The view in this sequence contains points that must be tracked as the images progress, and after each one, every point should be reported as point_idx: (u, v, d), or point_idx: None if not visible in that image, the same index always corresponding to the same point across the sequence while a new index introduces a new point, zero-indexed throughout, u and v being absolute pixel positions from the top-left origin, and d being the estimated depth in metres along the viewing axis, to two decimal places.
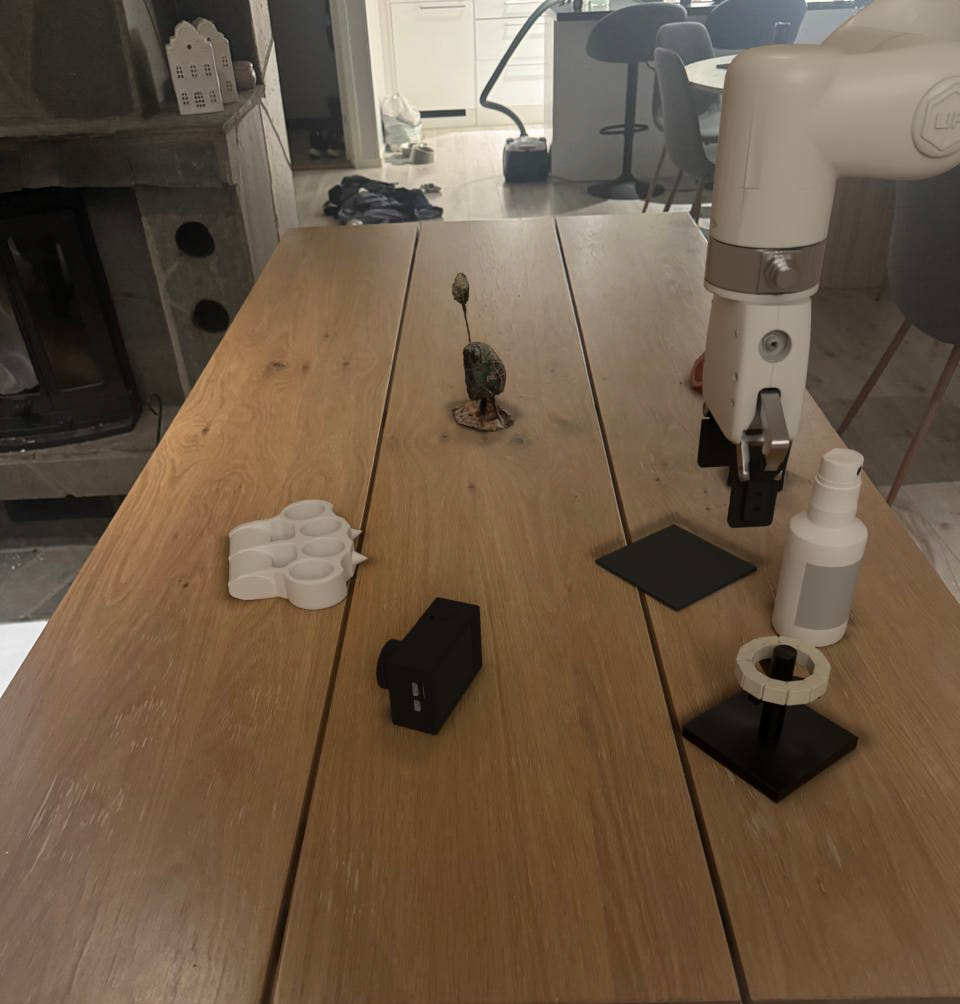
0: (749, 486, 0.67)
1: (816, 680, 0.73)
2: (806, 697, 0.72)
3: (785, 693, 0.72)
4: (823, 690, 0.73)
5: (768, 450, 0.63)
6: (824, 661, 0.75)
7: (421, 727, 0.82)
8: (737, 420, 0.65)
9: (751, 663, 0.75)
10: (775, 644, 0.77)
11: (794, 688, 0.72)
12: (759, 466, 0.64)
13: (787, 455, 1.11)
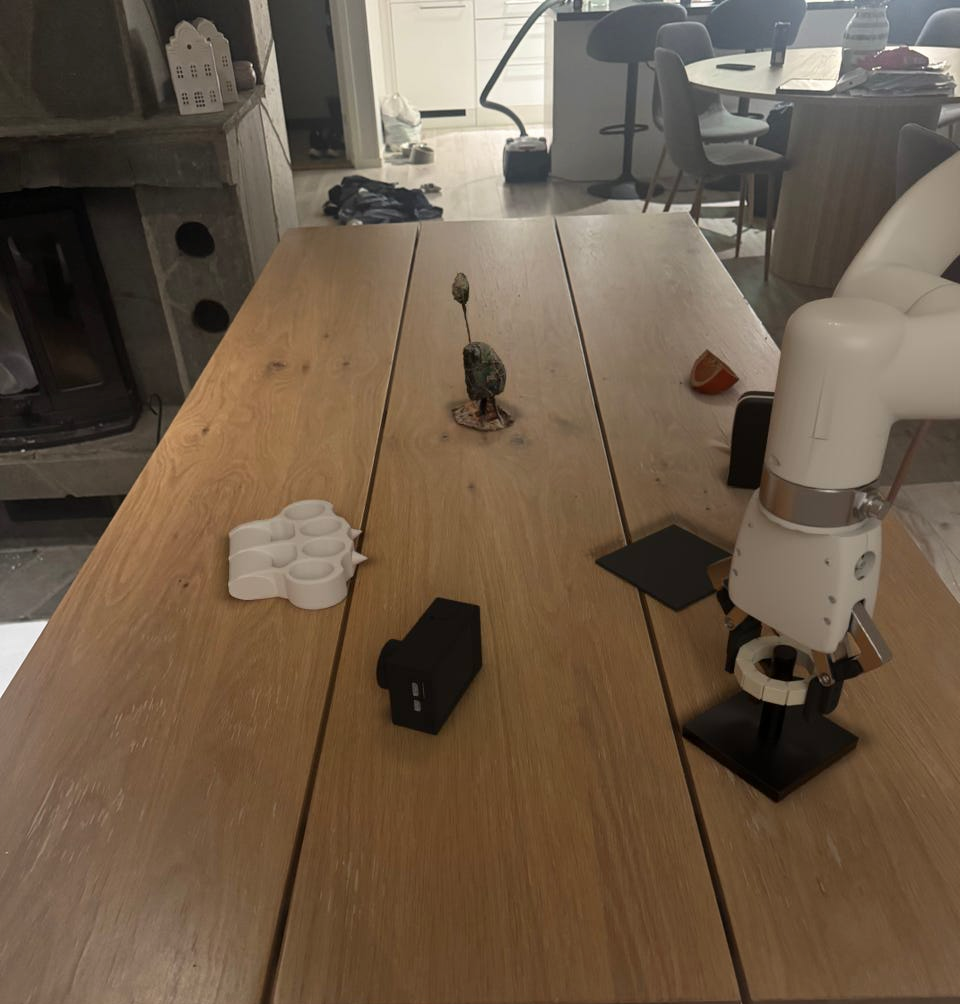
0: (831, 686, 0.71)
1: None
2: None
3: (785, 693, 0.72)
4: None
5: (872, 665, 0.67)
6: None
7: (421, 727, 0.82)
8: (835, 635, 0.67)
9: (751, 663, 0.75)
10: (775, 644, 0.77)
11: (794, 688, 0.72)
12: (855, 672, 0.68)
13: None
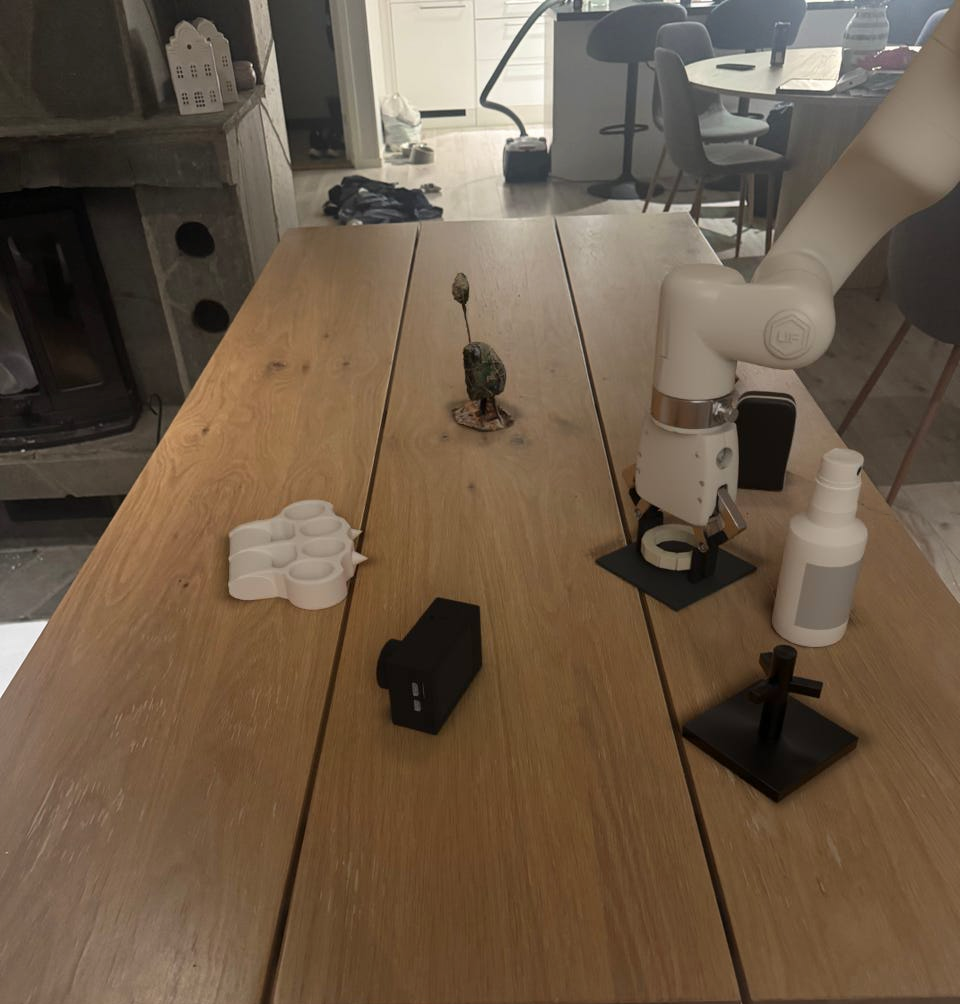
0: (708, 553, 0.96)
1: None
2: None
3: (675, 560, 0.97)
4: None
5: (732, 532, 0.92)
6: None
7: (421, 727, 0.82)
8: (706, 511, 0.92)
9: (652, 541, 1.00)
10: (672, 529, 1.02)
11: (681, 557, 0.97)
12: (722, 540, 0.94)
13: (787, 455, 1.11)
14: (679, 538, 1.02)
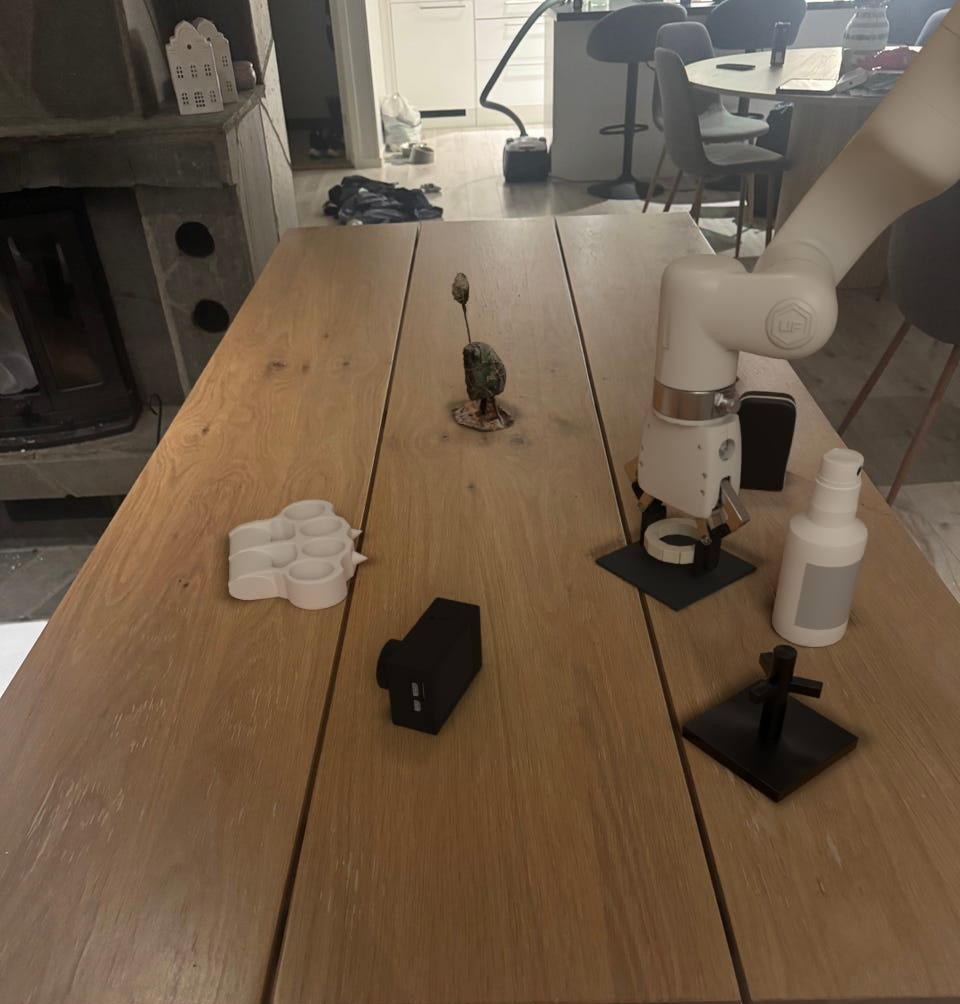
0: (711, 546, 0.95)
1: None
2: None
3: (678, 554, 0.97)
4: None
5: (735, 525, 0.92)
6: None
7: (421, 727, 0.82)
8: (709, 503, 0.92)
9: (655, 535, 1.00)
10: (675, 523, 1.01)
11: (684, 550, 0.97)
12: (725, 532, 0.93)
13: (787, 455, 1.11)
14: (682, 532, 1.02)
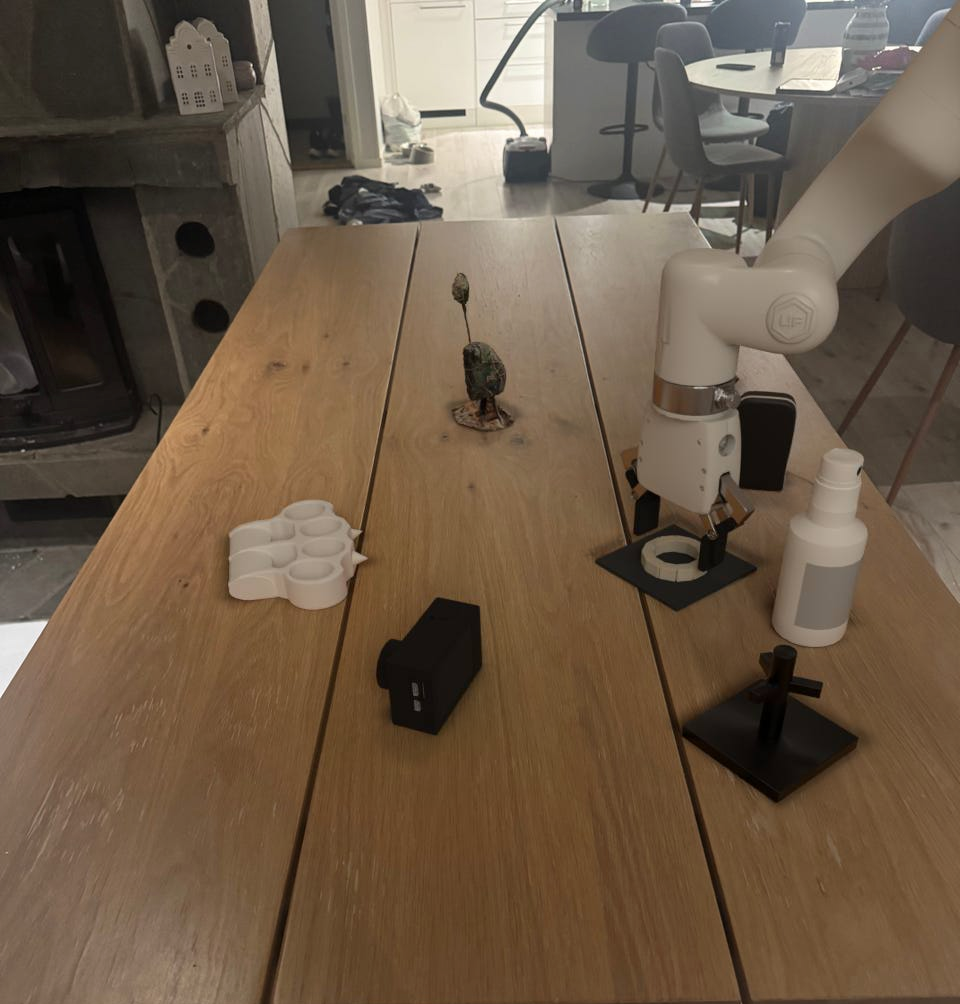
0: (717, 541, 0.94)
1: None
2: (690, 575, 0.98)
3: (675, 572, 0.98)
4: None
5: (741, 516, 0.91)
6: None
7: (421, 727, 0.82)
8: (708, 499, 0.92)
9: (652, 553, 1.01)
10: (672, 540, 1.03)
11: (681, 568, 0.98)
12: (732, 526, 0.92)
13: (787, 455, 1.11)
14: (679, 550, 1.03)
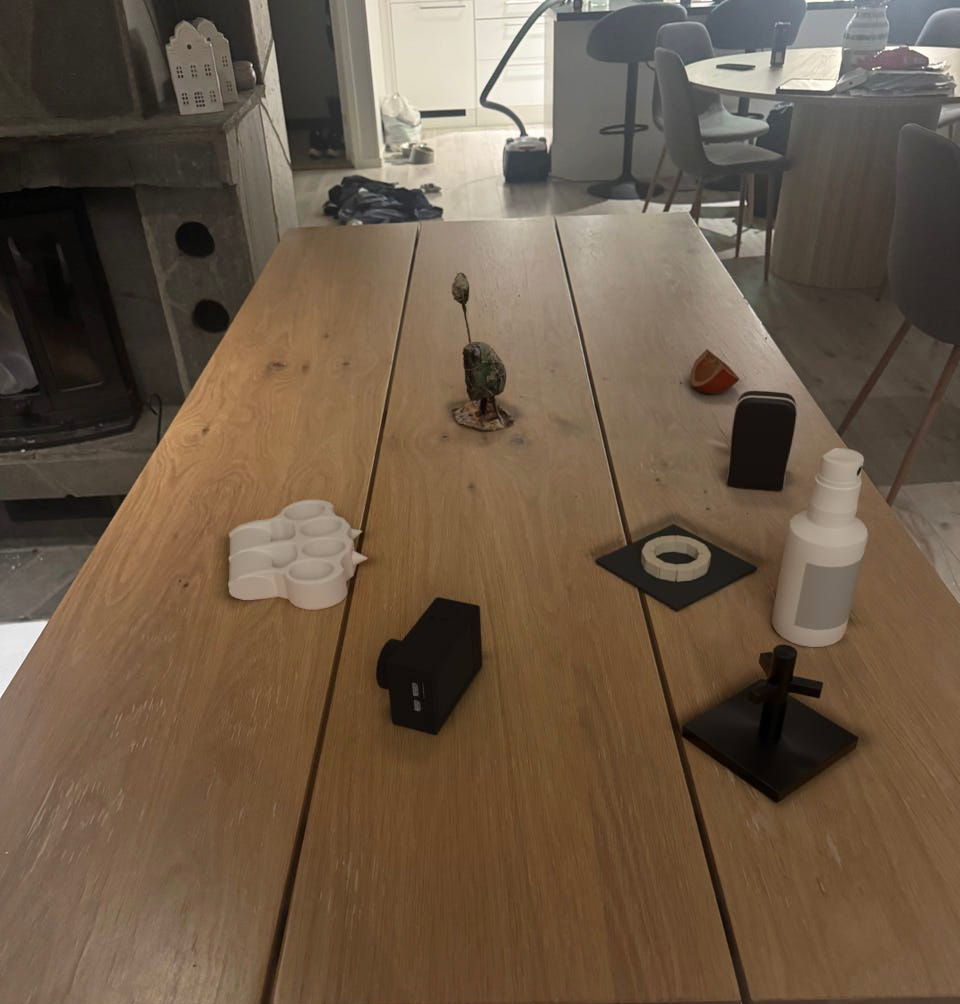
0: None
1: (698, 563, 0.99)
2: (690, 575, 0.98)
3: (675, 572, 0.98)
4: (704, 571, 0.99)
5: None
6: (706, 551, 1.01)
7: (421, 727, 0.82)
8: None
9: (652, 553, 1.01)
10: (672, 540, 1.03)
11: (681, 568, 0.98)
12: None
13: (787, 455, 1.11)
14: (679, 550, 1.03)
